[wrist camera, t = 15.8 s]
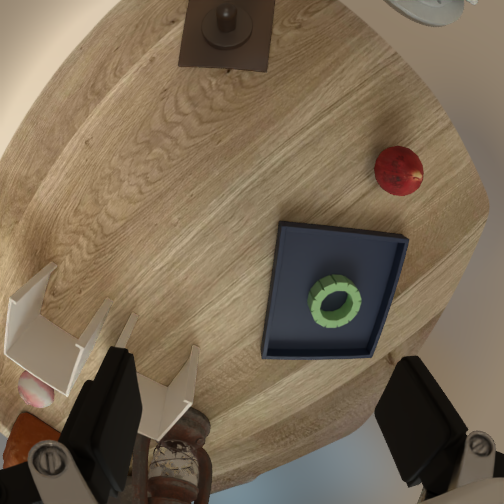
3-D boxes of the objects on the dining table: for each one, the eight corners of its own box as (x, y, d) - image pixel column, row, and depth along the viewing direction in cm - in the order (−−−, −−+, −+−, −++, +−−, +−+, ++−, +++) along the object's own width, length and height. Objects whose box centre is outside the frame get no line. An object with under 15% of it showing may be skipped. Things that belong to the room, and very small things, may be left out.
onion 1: (23, 357, 43) (6, 381, 36) (54, 365, 44) (38, 391, 37) (36, 387, 46) (22, 410, 39) (66, 395, 47) (53, 421, 40)
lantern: (192, 449, 53) (184, 601, 20) (128, 410, 48) (88, 579, 15) (232, 432, 51) (238, 603, 18) (166, 387, 46) (133, 591, 13)
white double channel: (37, 314, 40) (3, 353, 30) (51, 261, 37) (9, 297, 27) (169, 389, 46) (158, 441, 36) (199, 347, 43) (193, 403, 33)
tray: (401, 234, 39) (409, 239, 36) (367, 349, 45) (372, 357, 43) (279, 220, 37) (281, 225, 35) (260, 349, 44) (261, 359, 42)
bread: (83, 446, 53) (67, 494, 39) (59, 467, 59) (46, 504, 45) (23, 405, 48) (-2, 451, 35) (10, 435, 54) (-7, 471, 40)
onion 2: (369, 194, 36) (399, 209, 29) (360, 149, 34) (390, 153, 27) (406, 184, 36) (441, 196, 29) (399, 141, 34) (435, 144, 27)
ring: (360, 275, 40) (366, 283, 38) (348, 318, 42) (353, 328, 40) (312, 272, 39) (317, 281, 37) (303, 317, 42) (307, 327, 39)
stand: (274, 1, 27) (283, -25, 21) (266, 72, 31) (274, 57, 24) (190, -5, 26) (182, -31, 20) (178, 66, 30) (166, 51, 23)
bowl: (110, 482, 60) (100, 524, 46) (108, 456, 54) (94, 506, 40) (171, 497, 63) (167, 540, 49) (180, 475, 57) (175, 527, 43)
